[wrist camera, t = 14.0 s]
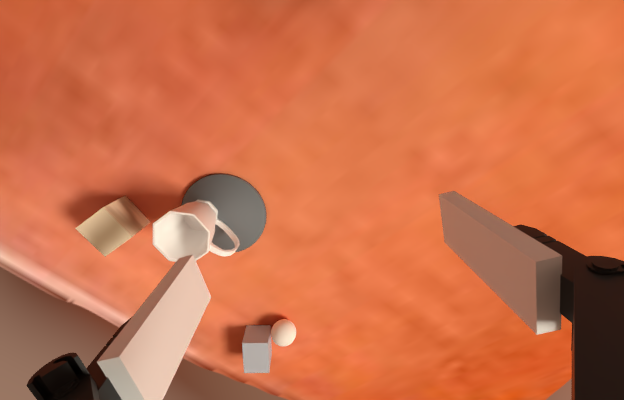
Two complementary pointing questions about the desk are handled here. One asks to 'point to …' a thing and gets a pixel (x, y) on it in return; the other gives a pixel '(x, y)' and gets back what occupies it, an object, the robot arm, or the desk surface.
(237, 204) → the coaster
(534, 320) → the robot arm
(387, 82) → the desk surface
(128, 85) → the desk surface
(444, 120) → the desk surface
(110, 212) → the birch block
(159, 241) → the cup
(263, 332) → the greyblue block
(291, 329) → the ball
